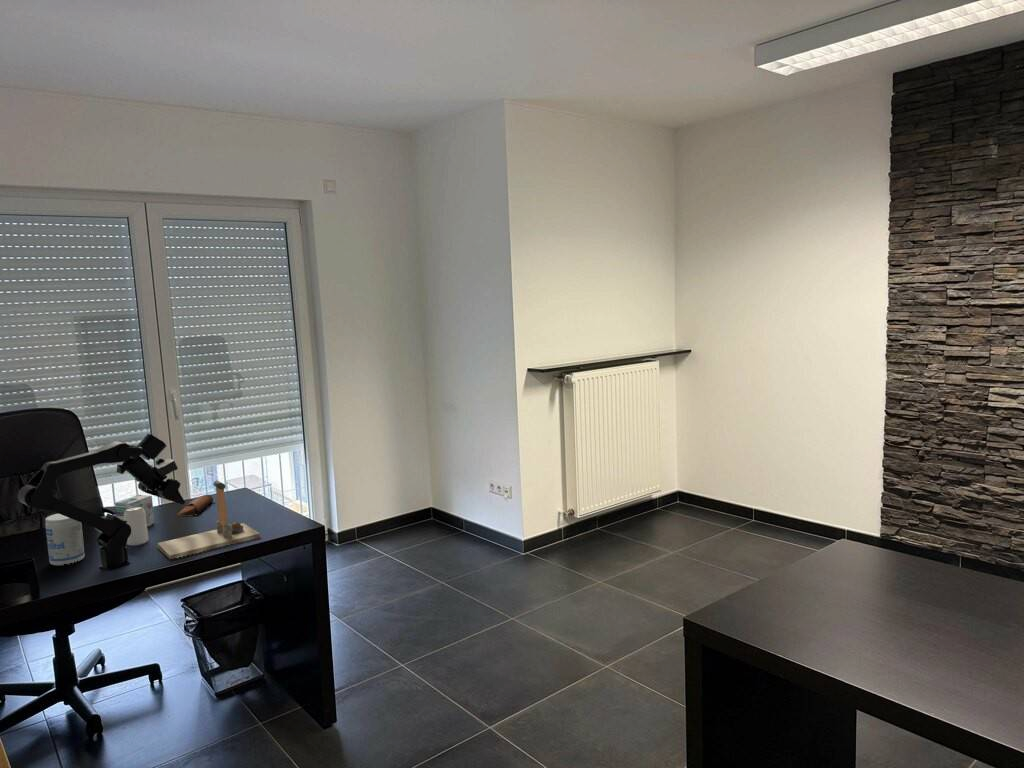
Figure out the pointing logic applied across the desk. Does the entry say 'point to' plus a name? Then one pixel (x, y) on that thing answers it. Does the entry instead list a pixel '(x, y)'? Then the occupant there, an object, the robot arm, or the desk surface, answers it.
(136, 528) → the can
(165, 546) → the board
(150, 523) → the light bulb box
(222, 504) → the lever
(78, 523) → the supplement tub
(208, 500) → the brown bread roll
